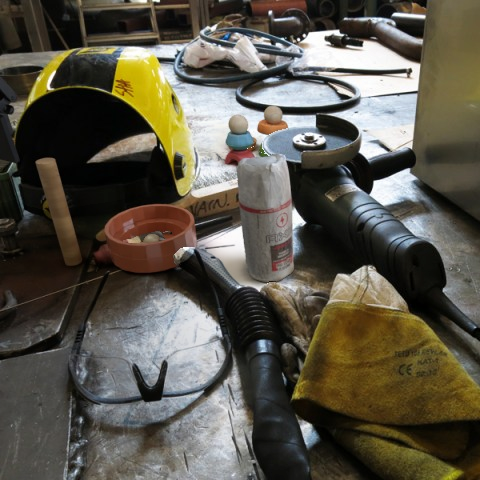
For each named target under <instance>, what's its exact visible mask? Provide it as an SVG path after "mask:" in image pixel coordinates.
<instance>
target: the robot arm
mask: <svg viewBox="0 0 480 480" xmlns="http://www.w3.org/2000/svg"><path fill="white" fill-rule="evenodd" d="M17 101H18V94H17V93H16V92H15V91H14V90H13V88H12V87H11V86H10V85H9V84H8V82H6V81H5V80H4V78H3V77H2V76H1V75H0V161H4V162H8V163H12V164H17V163H19V162H20V161H21V160H20V156H19V153H18V150H17V148H16V145H15V142H14V139H13V134H14V128H13V125H12V122H11V119H10V116H12V115H13V114H14V113H15V107H14V106H13V105H11V103H16V102H17Z"/></svg>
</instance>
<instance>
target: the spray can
mask: <svg viewBox="0 0 480 480" xmlns="http://www.w3.org/2000/svg"><path fill="white" fill-rule="evenodd" d="M236 177H237V188H238V190H237V191H238V205H239V215H240V222H241V223H240V225H241V232H242V240H243V248H244V254H245V255H244V257H245V263H246V272H247V274H248V276H249V277H251V278H252V279H253V280H255V281H259V282H263V283H270V282H269V281H276V282H279V281H281V280H284V279H285V278H286V277H288V276H290V275H291V274H293V272H294V270H295V263H294V229H293V228H294V227H293V226H294V225H293V224H294V223H293V203H292V200H293V199H292V191H291V180H290V171H289V168H288V163H287V159H286V155H285V154H282V153H279V152H277V154H272V155H271V156H269V157H261V156H255V157H253V158H244V159H242V160H241V161H240V162H239V164H238V163H237V167H236Z"/></svg>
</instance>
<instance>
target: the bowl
mask: <svg viewBox="0 0 480 480" xmlns="http://www.w3.org/2000/svg"><path fill="white" fill-rule="evenodd" d="M155 231H160V232H165V231H170V232H172V234H170V233H162V234H163V237H164V238H165V239H166V240H162V241H159V242H152V243H128V242H123V240H126V239H131V238H134V237H136V236H140V235H143V234H146V233H151V232H155ZM196 232H197V231H196V223H195V218H194V214H192V213H191V212H190V211H189V210H188V209H186V208H183V207H181V206H179V205H173V204H169V203H168V204H167V203H164V204H162V203H153V204H146V205H140V206H135V207H132V208H131V207H130V208H129V209H126V210H123V211H121V212H118V213H117V214H116V215H114V216H112V217H111V218H110V219H109V220H108V221H107V223H106V224H105V225H104V236H105V241H106V245H107V249H108V253H109V259H110V260H111V261H112V263H113V265H114V266H116V267H118V268H119V269H121V270H123V271H127V272H131V273H136V274H141V273H142V274H144V273H145V274H151V273H158V272H163V271H167V270H170V269H173V268H176V267H178V266H180V265H179V264H177V265H176V264H175V263H174V258H173V255H174V254H175V253H176V252H177V251H178V250H179V249H180V248H183V247H196V249H198V240H197V239H198V238H197V233H196Z"/></svg>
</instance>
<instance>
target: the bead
mask: <svg viewBox="0 0 480 480" xmlns="http://www.w3.org/2000/svg"><path fill="white" fill-rule="evenodd" d="M159 240H160V237H159V236H158V235H156V234H148V235H147V236H145V238H144V240H143V243H152V242H159Z"/></svg>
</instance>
